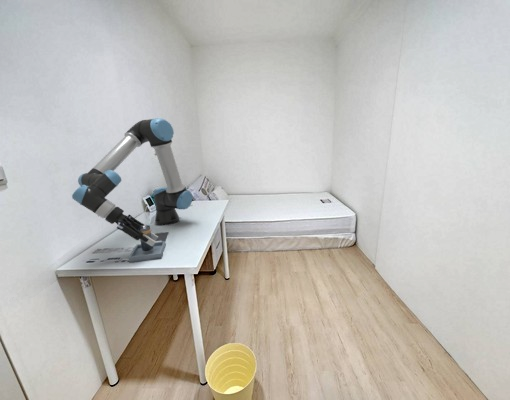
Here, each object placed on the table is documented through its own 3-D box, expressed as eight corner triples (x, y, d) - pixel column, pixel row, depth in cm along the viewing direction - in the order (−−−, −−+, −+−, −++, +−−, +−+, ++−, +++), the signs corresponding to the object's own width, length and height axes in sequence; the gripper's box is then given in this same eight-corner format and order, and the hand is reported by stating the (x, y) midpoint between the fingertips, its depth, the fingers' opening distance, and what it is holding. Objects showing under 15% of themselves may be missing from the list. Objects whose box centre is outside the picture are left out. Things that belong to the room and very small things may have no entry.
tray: (137, 249, 117) (136, 244, 116) (165, 245, 120) (165, 241, 119) (129, 262, 104) (128, 257, 104) (161, 258, 107) (160, 253, 106)
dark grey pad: (147, 235, 134) (146, 234, 133) (169, 232, 136) (168, 231, 136) (140, 246, 120) (140, 244, 120) (165, 243, 123) (165, 241, 122)
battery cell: (143, 247, 113) (139, 224, 110) (154, 245, 114) (150, 223, 111) (140, 251, 108) (136, 228, 105) (152, 250, 109) (148, 227, 106)
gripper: (112, 212, 112) (154, 239, 120) (96, 225, 95) (145, 256, 103) (122, 201, 112) (163, 228, 120) (107, 212, 95) (156, 243, 102)
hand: (155, 241), depth 111 cm, fingers closed on battery cell, 5 cm apart
